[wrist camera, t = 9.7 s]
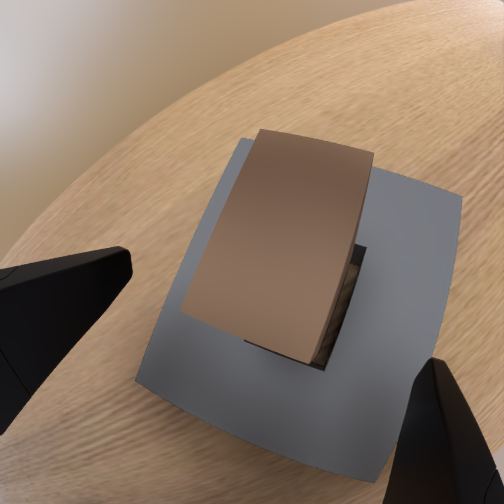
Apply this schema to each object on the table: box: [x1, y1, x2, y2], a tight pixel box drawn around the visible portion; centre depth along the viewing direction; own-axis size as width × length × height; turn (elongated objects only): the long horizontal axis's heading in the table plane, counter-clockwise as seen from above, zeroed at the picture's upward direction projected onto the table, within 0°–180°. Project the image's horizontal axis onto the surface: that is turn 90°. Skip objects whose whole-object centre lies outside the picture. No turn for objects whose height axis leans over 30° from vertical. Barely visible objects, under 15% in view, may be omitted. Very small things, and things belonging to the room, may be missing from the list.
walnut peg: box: [179, 129, 374, 364], centre depth 12 cm, size 5×3×12 cm, turn 158°
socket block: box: [135, 138, 462, 483], centre depth 16 cm, size 16×14×4 cm
